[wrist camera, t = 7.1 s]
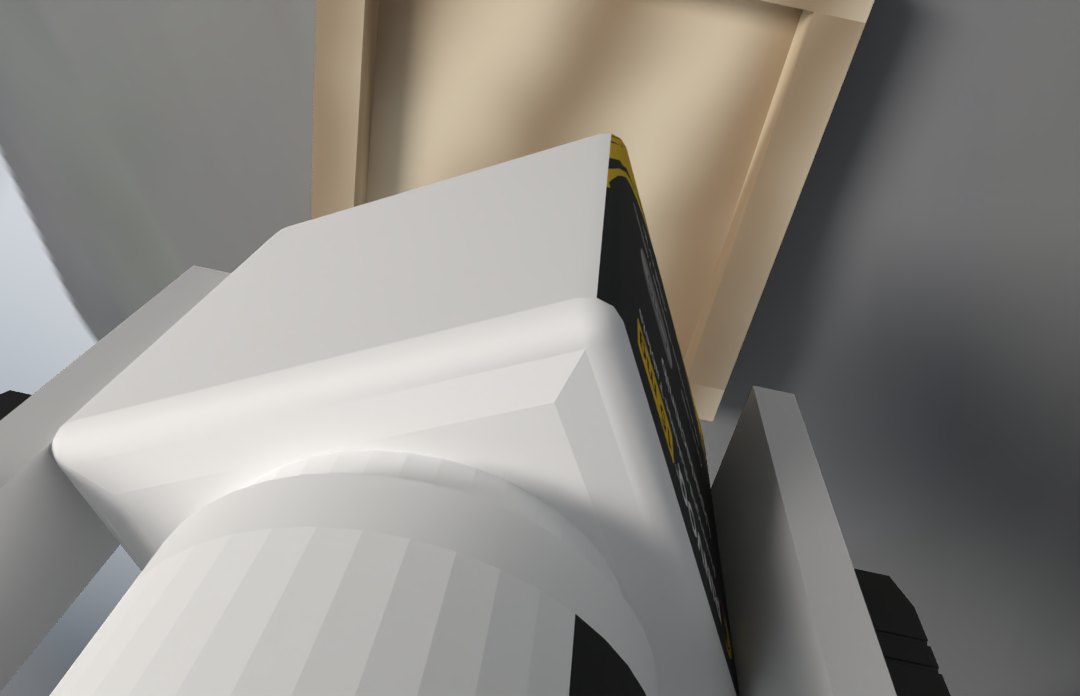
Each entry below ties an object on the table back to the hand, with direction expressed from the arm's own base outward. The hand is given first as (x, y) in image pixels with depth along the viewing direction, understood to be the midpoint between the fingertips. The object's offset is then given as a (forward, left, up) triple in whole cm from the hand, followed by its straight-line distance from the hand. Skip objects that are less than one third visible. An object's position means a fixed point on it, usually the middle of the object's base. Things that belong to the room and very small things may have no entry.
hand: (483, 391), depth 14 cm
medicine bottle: (0, 0, -2) cm, 2 cm away
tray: (0, 0, -15) cm, 15 cm away
